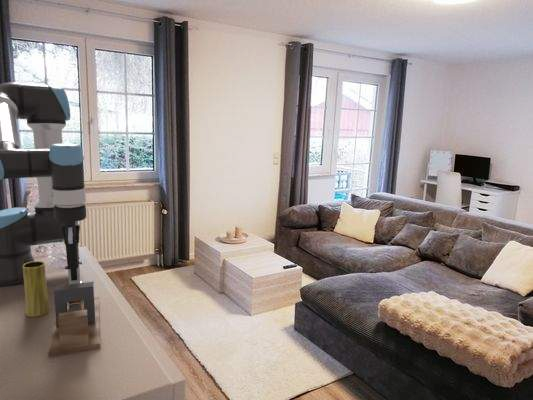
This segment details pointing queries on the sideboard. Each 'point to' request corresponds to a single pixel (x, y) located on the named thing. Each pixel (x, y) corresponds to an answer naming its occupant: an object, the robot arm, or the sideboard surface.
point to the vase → (35, 289)
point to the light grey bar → (75, 305)
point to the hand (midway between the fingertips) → (75, 289)
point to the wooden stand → (75, 332)
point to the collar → (74, 298)
